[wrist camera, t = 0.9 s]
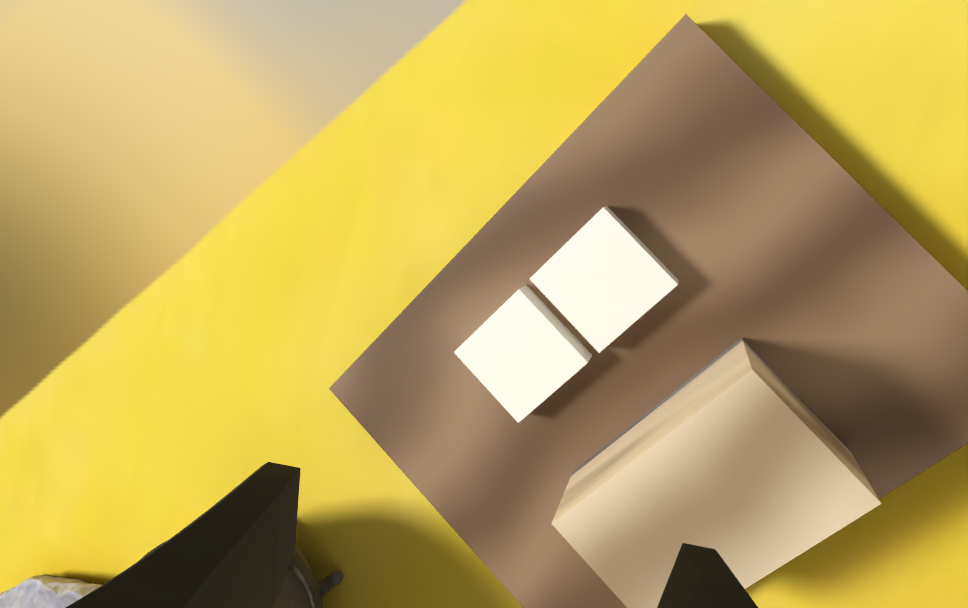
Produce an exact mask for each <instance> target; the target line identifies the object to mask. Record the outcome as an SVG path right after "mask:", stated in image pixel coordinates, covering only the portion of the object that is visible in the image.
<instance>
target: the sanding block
mask: <svg viewBox="0 0 968 608" xmlns="http://www.w3.org/2000/svg"><path fill="white" fill-rule="evenodd" d="M880 504H881V502H880V500H879V499H878V497H877V495H876V494H875V492H874V490H873V489H872V487H871V485H870V483H869V482H868V480H867V478H866V477H865V475H864V473H863V472H862V470H861V468H860V467H859V465H858V463H857V462H856V460H855V458H854V457H853V455H852V453H851V452H850V450H849V448H848V447H847V446H846V445H845V444H844V443H843V442H842V441H841V440H840V439H839V438H838V437H837V435H836V434H835V433H834V432H833V431H832V430H831V429H830V428H829V427H828V426H827V425H826V424H825V423H824V422H823V421H822V420H821V419H820V418H819V417H818V416H817V415H816V414H815V413H814V412H813V411H812V410H811V409H810V408H809V407H808V406H807V404H806V403H805V402H804V401H803V400H802V399H801V398H800V397H799V396H798V395H797V394H796V393H795V392H794V391H793V390H792V389H791V388H790V387H789V386H788V385H787V384H786V383H785V382H784V381H783V380H782V379H781V378H780V377H779V376H778V375H777V374H776V372H775V371H774V370H773V369H772V368H771V367H770V366H769V365H768V364H767V363H766V362H765V361H764V360H763V359H762V358H761V357H760V356H759V355H758V354H757V353H756V352H755V351H754V350H753V349H752V348H751V347H750V346H749V345H748V344H747V343H746V341H745V340H744V339H743V338H740V339H739V340H738V341H737V342H735V343H734V344H733V345H731V346H730V347H729V348H728V349H726V350H725V351H724V352H723V353H721V354H720V355H719V356H718V357H716V358H715V359H714V360H713V361H711V362H710V363H709V364H708V365H706V366H705V367H704V368H703V369H701V370H700V371H699V372H697V373H696V374H695V375H694V376H692V377H691V378H690V379H689V380H687V381H686V382H685V383H684V384H682V385H681V386H680V387H679V388H677V389H676V390H675V391H674V392H672V393H671V394H670V395H669V396H667V397H666V398H665V399H663V400H662V401H661V402H660V403H658V404H657V405H656V406H655V407H653V408H652V409H651V410H650V411H648V412H647V413H646V414H645V415H643V416H642V417H641V418H640V419H638V420H637V421H636V422H635V423H633V424H632V425H631V426H630V427H628V428H627V429H626V430H624V431H623V432H622V433H621V434H619V435H618V436H617V437H616V438H614V439H613V440H612V441H611V442H609V443H608V444H607V445H606V446H604V447H603V448H602V449H601V450H599V451H598V452H597V453H596V454H594V455H593V456H592V457H590V458H589V459H588V460H587V461H585V462H584V463H583V464H582V465H580V466H579V467H578V468H577V469H575V470H574V471H573V472H572V475H571V477H570V480H569V482H568V484H567V487H566V489H565V492H564V494H563V497H562V499H561V501H560V504H559V506H558V509H557V511H556V514H555V516H554V518H553V521H552V523H551V524H552V525H553V526H554V527H555V528H556V529H557V530H558V532H559V533H560V534H561V535H562V536H563V537H564V538H565V539H566V540H567V542H568V543H569V544H570V545H571V546H572V547H573V548H574V549H575V550H576V552H577V553H578V554H579V555H580V556H581V557H582V558H583V559H584V560H585V561H586V563H587V564H588V565H589V566H590V567H591V568H592V569H593V570H594V571H595V573H596V574H597V575H598V576H599V577H600V578H601V579H602V580H603V581H604V582H605V584H606V585H607V586H608V587H609V588H610V589H611V590H612V591H613V592H614V594H615V595H616V596H617V597H618V598H619V599H620V600H621V601H622V602H623V604H624V605H625V606H626V607H627V608H657V606H658V604H659V601H660V599H661V596H662V594H663V591H664V589H665V586H666V584H667V581H668V579H669V576H670V573H671V571H672V568H673V566H674V563H675V561H676V558H677V556H678V553H679V551H680V548H681V546H682V543H686V544H691V545H696V546H702V547H707V548H712V549H715V550H716V551H717V552H718V553H719V555H720V556H721V557H722V559H723V560H724V561H725V563H726V564H727V566H728V567H729V568H730V570H731V571H732V572H733V574H734V575H735V577H736V578H737V579H738V581H739V582H740V584H741V585H742V586H743V588H744V589H746V588H747V587H749V586H751V585H752V584H754V583H755V582H757V581H759V580H760V579H762V578H763V577H765V576H767V575H768V574H770V573H771V572H773V571H775V570H776V569H778V568H779V567H781V566H783V565H784V564H786V563H787V562H789V561H791V560H792V559H794V558H795V557H797V556H799V555H800V554H802V553H803V552H805V551H807V550H808V549H810V548H811V547H813V546H815V545H816V544H818V543H819V542H821V541H823V540H824V539H826V538H827V537H829V536H831V535H832V534H834V533H835V532H837V531H839V530H840V529H842V528H843V527H845V526H847V525H848V524H850V523H851V522H853V521H855V520H856V519H858V518H859V517H861V516H863V515H864V514H866V513H867V512H869V511H871V510H872V509H874V508H875V507H877V506H879V505H880Z"/></svg>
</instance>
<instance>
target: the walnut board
mask: <svg viewBox="0 0 968 608" xmlns="http://www.w3.org/2000/svg"><path fill="white" fill-rule="evenodd" d="M605 206H608V208H609V209H610V210H611V211H612V212H613V213H614V214H615V215H616V216H617V217H618V218H619V219H620V220H621V221H622V222H623V223H624V224H625V225H626V226H627V227H628V228H629V229H630V230H631V231H632V232H633V233H634V234H635V235H636V236H637V237H638V239H639V240H640V241H641V242H642V243H643V244H644V245H645V246H646V247H647V248H648V249H649V250H650V251H651V252H652V253H653V254H654V255H655V256H656V257H657V258H658V259H659V260H660V261H661V262H662V263H663V264H664V265H665V266H666V267H667V269H668V270H669V271H670V272H671V273H672V274H673V275H674V276H675V277H676V278H677V279H678V280H679V282H678V285H677V286H676V287H675V288H674V289H673V290H671V291H670V292H669V293H668V294H667V295H666V296H664V297H663V298H662V299H661V300H660V301H659V302H658V303H656V304H655V305H654V306H653V307H652V308H651V309H649V310H648V311H647V312H646V313H645V314H644V315H642V316H641V317H640V318H639V319H638V320H637V321H636V322H634V323H633V324H632V325H631V326H630V327H629V328H627V329H626V330H625V331H624V332H623V333H622V334H621V335H619V336H618V337H617V338H616V339H615V340H614V341H612V342H611V343H610V344H609V345H608V346H607V347H606V348H604V349H603V350H602V351H601V352H600V353H598V351H597V350H596V349H595V348H594V347H593V346H592V345H591V344H590V343H589V342H588V341H587V340H586V339H585V338H584V337H583V335H582V334H581V333H580V332H579V331H578V330H577V329H576V328H575V327H574V326H573V325H572V324H571V323H570V322H569V321H568V320H567V318H566V317H565V316H564V315H563V314H562V313H561V312H560V311H559V310H558V309H557V308H556V307H555V306H554V305H553V304H552V303H551V301H550V300H549V299H548V298H547V297H546V296H545V295H544V294H543V293H542V292H541V291H540V290H539V289H538V288H537V287H536V285H535V284H534V283H533V282H532V281H531V280H530V278H531V277H532V276H533V275H534V274H535V273H536V272H537V271H538V270H539V269H540V268H541V267H542V266H543V265H544V264H545V263H546V262H547V261H548V260H549V259H550V258H551V257H552V256H553V255H554V254H555V253H556V252H557V251H558V250H559V249H560V248H562V247H563V246H564V245H565V244H566V243H567V242H568V241H569V240H570V239H571V238H572V237H573V236H574V235H575V234H576V233H577V232H578V231H579V230H580V229H581V228H582V227H583V226H584V225H585V224H586V223H587V222H588V221H589V220H590V219H591V218H592V217H593V216H594V215H595V214H597V213H598V212H599V211H600V210H601V209H602V208H603V207H605ZM525 285H527V286H528V287H529V288H530V289H531V290H532V291H533V292H534V293H535V294H536V296H537V297H538V298H539V299H540V300H541V301H542V302H543V303H544V304H545V305H546V306H547V307H548V308H549V309H550V310H551V312H552V313H553V314H554V315H555V316H556V317H557V318H558V319H559V320H560V321H561V322H562V323H563V324H564V325H565V326H566V328H567V329H568V330H569V331H570V332H571V333H572V334H573V335H574V336H575V337H576V338H577V339H578V340H579V341H580V342H581V344H582V345H583V346H584V347H585V348H586V349H587V350H588V351H589V352H590V353H591V354H592V357H591V358H590V360H589V362H588V363H587V364H586V365H585V366H584V367H582V368H581V369H580V370H579V371H578V372H577V373H576V374H574V375H573V376H572V377H571V378H570V379H569V380H567V381H566V382H565V383H564V384H563V385H562V386H561V387H559V388H558V389H557V390H556V391H555V392H554V393H552V394H551V395H550V396H549V397H548V398H547V399H546V400H544V401H543V402H542V403H541V404H540V405H539V406H537V407H536V408H535V409H534V410H533V411H532V412H531V413H529V414H528V415H527V416H526V417H525V418H524V419H522V420H521V421H520V422H519V423H518V422H517V421H516V420H515V419H514V418H513V417H512V416H511V415H510V413H509V412H508V411H507V410H506V409H505V408H504V407H503V406H502V405H501V404H500V402H499V401H498V400H497V399H496V398H495V397H494V396H493V395H492V394H491V393H490V392H489V390H488V389H487V388H486V387H485V386H484V385H483V384H482V383H481V382H480V381H479V380H478V378H477V377H476V376H475V375H474V374H473V373H472V372H471V371H470V370H469V369H468V367H467V366H466V365H465V364H464V363H463V362H462V361H461V360H460V359H459V358H458V357H457V355H456V354H455V353H454V351H455V350H456V349H458V348H459V347H460V346H461V345H462V344H463V343H464V342H465V341H466V340H467V339H468V338H469V337H470V336H471V335H472V334H473V333H474V332H475V331H476V330H477V329H478V328H479V327H480V326H481V325H482V324H483V323H484V322H485V321H486V320H487V319H488V318H489V317H490V316H491V315H493V314H494V313H495V312H496V311H497V310H498V309H499V308H500V307H501V306H502V305H503V304H504V303H505V302H506V301H507V300H508V299H509V298H510V297H511V296H512V295H513V294H514V293H515V292H516V291H517V290H518V289H520V288H521V287H523V286H525ZM740 338H743V339H744V340H745V341H746V343H747V344H748V345H749V346H750V347H751V348H752V349H753V350H754V351H755V352H756V353H757V354H758V355H759V356H760V357H761V358H762V359H763V360H764V361H765V362H766V363H767V364H768V365H769V366H770V367H771V368H772V369H773V370H774V371H775V372H776V374H777V375H778V376H779V377H780V378H781V379H782V380H783V381H784V382H785V383H786V384H787V385H788V386H789V387H790V388H791V389H792V390H793V391H794V392H795V393H796V394H797V395H798V396H799V397H800V398H801V399H802V400H803V401H804V402H805V403H806V404H807V406H808V407H809V408H810V409H811V410H812V411H813V412H814V413H815V414H816V415H817V416H818V417H819V418H820V419H821V420H822V421H823V422H824V423H825V424H826V425H827V426H828V427H829V428H830V429H831V430H832V431H833V432H834V433H835V434H836V435H837V437H838V438H839V439H840V440H841V441H842V442H843V443H844V444H845V445H846V446H847V447H848V448H849V450H850V452H851V453H852V455H853V457H854V458H855V460H856V462H857V463H858V465H859V467H860V468H861V470H862V472H863V473H864V475H865V477H866V478H867V480H868V482H869V483H870V485H871V487H872V489H873V490H874V492H875V494H876V495H877V497H878V499H880V498H881V497H883V496H885V495H886V494H888V493H889V492H891V491H892V490H894V489H896V488H897V487H899V486H900V485H902V484H904V483H905V482H907V481H908V480H910V479H912V478H913V477H915V476H916V475H918V474H920V473H921V472H923V471H924V470H926V469H927V468H929V467H931V466H932V465H934V464H935V463H937V462H939V461H940V460H942V459H943V458H945V457H947V456H948V455H950V454H951V453H953V452H955V451H956V450H958V449H959V448H961V447H962V446H964V445H966V444H967V443H968V291H967V290H966V289H965V288H964V287H963V286H962V285H961V284H960V283H959V282H958V281H957V280H956V279H955V278H954V277H953V276H952V275H951V274H950V273H949V272H948V271H947V270H946V269H945V268H944V267H943V266H942V265H941V264H940V263H939V262H938V261H937V260H936V259H935V258H934V257H933V256H932V255H931V254H930V253H929V252H928V251H926V250H925V249H924V248H923V247H922V246H921V245H920V244H919V243H918V242H917V241H916V240H915V239H914V238H913V237H912V236H911V235H910V234H909V233H908V232H907V231H906V230H905V229H904V228H903V227H902V226H901V225H900V224H899V223H898V222H897V221H896V220H895V219H894V218H893V217H892V216H891V215H890V214H889V213H888V212H887V211H886V210H885V209H884V208H883V207H882V206H881V205H880V204H879V203H878V202H877V201H876V200H875V199H874V198H873V197H872V196H871V195H870V194H868V193H867V192H866V191H865V190H864V189H863V188H862V187H861V186H860V185H859V184H858V183H857V182H856V181H855V180H854V179H853V178H852V177H851V176H850V175H849V174H848V173H847V172H846V171H845V170H844V169H843V168H842V167H841V166H840V165H839V164H838V163H837V162H836V161H835V160H834V159H833V158H832V157H831V156H830V155H829V154H828V153H827V152H826V151H825V150H824V149H823V148H822V147H821V146H820V145H819V144H818V143H817V142H816V141H815V140H814V139H813V138H812V137H811V136H809V135H808V134H807V133H806V132H805V131H804V130H803V129H802V128H801V127H800V126H799V125H798V124H797V123H796V122H795V121H794V120H793V119H792V118H791V117H790V116H789V115H788V114H787V113H786V112H785V111H784V110H783V109H782V108H781V107H780V106H779V105H778V104H777V103H776V102H775V101H774V100H773V99H772V98H771V97H770V96H769V95H768V94H767V93H766V92H765V91H764V90H763V89H762V88H761V87H760V86H759V85H758V84H757V83H756V82H755V81H754V80H753V79H752V78H750V77H749V76H748V75H747V74H746V73H745V72H744V71H743V70H742V69H741V68H740V67H739V66H738V65H737V64H736V63H735V62H734V61H733V60H732V59H731V58H730V57H729V56H728V55H727V54H726V53H725V52H724V51H723V50H722V49H721V48H720V47H719V46H718V45H717V44H716V43H715V42H714V41H713V40H712V39H711V38H710V37H709V36H708V35H707V34H706V33H705V32H704V31H703V30H702V29H701V28H700V27H699V26H698V25H697V24H696V23H695V22H694V21H692V20H691V19H690V18H689V17H688V16H687V15H685V16H684V17H683V18H682V19H681V20H680V21H679V22H678V23H677V24H676V25H675V26H674V27H673V28H672V29H671V30H670V31H669V32H668V33H667V35H666V36H665V37H664V38H663V39H662V40H661V41H660V42H659V43H658V44H657V45H656V46H655V47H654V48H653V49H652V50H651V51H650V52H649V53H648V54H647V55H646V57H645V58H644V59H643V60H642V61H641V62H640V63H639V64H638V65H637V66H636V67H635V68H634V69H633V70H632V71H631V72H630V73H629V74H628V75H627V76H626V78H625V79H624V80H623V81H622V82H621V83H620V84H619V85H618V86H617V87H616V88H615V89H614V90H613V91H612V92H611V93H610V94H609V95H608V96H607V97H606V98H605V100H604V101H603V102H602V103H601V104H600V105H599V106H598V107H597V108H596V109H595V110H594V111H593V112H592V113H591V114H590V115H589V116H588V117H587V118H586V119H585V121H584V122H583V123H582V124H581V125H580V126H579V127H578V128H577V129H576V130H575V131H574V132H573V133H572V134H571V135H570V136H569V137H568V138H567V139H566V140H565V142H564V143H563V144H562V145H561V146H560V147H559V148H558V149H557V150H556V151H555V152H554V153H553V154H552V155H551V156H550V157H549V158H548V159H547V160H546V161H545V162H544V164H543V165H542V166H541V167H540V168H539V169H538V170H537V171H536V172H535V173H534V174H533V175H532V176H531V177H530V178H529V179H528V180H527V181H526V182H525V183H524V185H523V186H522V187H521V188H520V189H519V190H518V191H517V192H516V193H515V194H514V195H513V196H512V197H511V198H510V199H509V200H508V201H507V202H506V203H505V204H504V206H503V207H502V208H501V209H500V210H499V211H498V212H497V213H496V214H495V215H494V216H493V217H492V218H491V219H490V220H489V221H488V222H487V223H486V224H485V225H484V226H483V228H482V229H481V230H480V231H479V232H478V233H477V234H476V235H475V236H474V237H473V238H472V239H471V240H470V241H469V242H468V243H467V244H466V245H465V246H464V247H463V249H462V250H461V251H460V252H459V253H458V254H457V255H456V256H455V257H454V258H453V259H452V260H451V261H450V262H449V263H448V264H447V265H446V266H445V267H444V268H443V270H442V271H441V272H440V273H439V274H438V275H437V276H436V277H435V278H434V279H433V280H432V281H431V282H430V283H429V284H428V285H427V286H426V287H425V288H424V289H423V290H422V292H421V293H420V294H419V295H418V296H417V297H416V298H415V299H414V300H413V301H412V302H411V303H410V304H409V305H408V306H407V307H406V308H405V309H404V310H403V311H402V313H401V314H400V315H399V316H398V317H397V318H396V319H395V320H394V321H393V322H392V323H391V324H390V325H389V326H388V327H387V328H386V329H385V330H384V331H383V332H382V334H381V335H380V336H379V337H378V338H377V339H376V340H375V341H374V342H373V343H372V344H371V345H370V346H369V347H368V348H367V349H366V350H365V351H364V352H363V353H362V354H361V356H360V357H359V358H358V359H357V360H356V361H355V362H354V363H353V364H352V365H351V366H350V367H349V368H348V369H347V370H346V371H345V372H344V373H343V374H342V375H341V377H340V378H339V379H338V380H337V381H336V382H335V383H334V384H333V385H332V386H331V387H330V388H329V389H330V390H331V391H332V392H333V394H334V395H335V396H336V397H337V398H338V399H339V400H340V401H341V403H342V404H343V405H344V406H345V407H346V408H347V409H348V410H349V412H350V413H351V414H352V415H353V416H354V417H355V418H356V420H357V421H358V422H359V423H360V424H361V425H362V426H363V427H364V429H365V430H366V431H367V432H368V433H369V434H370V435H371V436H372V438H373V439H374V440H375V441H376V442H377V443H378V444H379V445H380V447H381V448H382V449H383V450H384V451H385V452H386V453H387V455H388V456H389V457H390V458H391V459H392V460H393V461H394V462H395V464H396V465H397V466H398V467H399V468H400V469H401V470H402V471H403V473H404V474H405V475H406V476H407V477H408V478H409V479H410V480H411V482H412V483H413V484H414V485H415V486H416V487H417V488H418V490H419V491H420V492H421V493H422V494H423V495H424V496H425V497H426V499H427V500H428V501H429V502H430V503H431V504H432V505H433V506H434V508H435V509H436V510H437V511H438V512H439V513H440V514H441V515H442V517H443V518H444V519H445V520H446V521H447V522H448V523H449V525H450V526H451V527H452V528H453V529H454V530H455V531H456V532H457V534H458V535H459V536H460V537H461V538H462V539H463V540H464V541H465V543H466V544H467V545H468V546H469V547H470V548H471V549H472V550H473V552H474V553H475V554H476V555H477V556H478V557H479V558H480V559H481V561H482V562H483V563H484V564H485V565H486V566H487V567H488V569H489V570H490V571H491V572H492V573H493V574H494V575H495V576H496V578H497V579H498V580H499V581H500V582H501V583H502V584H503V585H504V587H505V588H506V589H507V590H508V591H509V592H510V593H511V594H512V596H513V597H514V598H515V599H516V600H517V601H518V602H519V604H520V605H521V606H522V607H523V608H627V607H626V606H625V605H624V604H623V602H622V601H621V600H620V599H619V598H618V597H617V596H616V595H615V594H614V592H613V591H612V590H611V589H610V588H609V587H608V586H607V585H606V584H605V582H604V581H603V580H602V579H601V578H600V577H599V576H598V575H597V574H596V573H595V571H594V570H593V569H592V568H591V567H590V566H589V565H588V564H587V563H586V561H585V560H584V559H583V558H582V557H581V556H580V555H579V554H578V553H577V552H576V550H575V549H574V548H573V547H572V546H571V545H570V544H569V543H568V542H567V540H566V539H565V538H564V537H563V536H562V535H561V534H560V533H559V532H558V530H557V529H556V528H555V527H554V526H553V525H552V524H551V523H552V521H553V518H554V516H555V514H556V511H557V509H558V506H559V504H560V501H561V499H562V497H563V494H564V492H565V489H566V487H567V484H568V482H569V480H570V477H571V475H572V472H573V471H574V470H575V469H577V468H578V467H579V466H580V465H582V464H583V463H584V462H585V461H587V460H588V459H589V458H590V457H592V456H593V455H594V454H596V453H597V452H598V451H599V450H601V449H602V448H603V447H604V446H606V445H607V444H608V443H609V442H611V441H612V440H613V439H614V438H616V437H617V436H618V435H619V434H621V433H622V432H623V431H624V430H626V429H627V428H628V427H630V426H631V425H632V424H633V423H635V422H636V421H637V420H638V419H640V418H641V417H642V416H643V415H645V414H646V413H647V412H648V411H650V410H651V409H652V408H653V407H655V406H656V405H657V404H658V403H660V402H661V401H662V400H663V399H665V398H666V397H667V396H669V395H670V394H671V393H672V392H674V391H675V390H676V389H677V388H679V387H680V386H681V385H682V384H684V383H685V382H686V381H687V380H689V379H690V378H691V377H692V376H694V375H695V374H696V373H697V372H699V371H700V370H701V369H703V368H704V367H705V366H706V365H708V364H709V363H710V362H711V361H713V360H714V359H715V358H716V357H718V356H719V355H720V354H721V353H723V352H724V351H725V350H726V349H728V348H729V347H730V346H731V345H733V344H734V343H735V342H737V341H738V340H739V339H740Z"/></svg>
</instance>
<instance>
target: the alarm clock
mask: <svg viewBox="0 0 968 608" xmlns="http://www.w3.org/2000/svg"><path fill="white" fill-rule="evenodd" d="M166 542H167V541H166ZM164 543H165V542H164ZM164 543H162V544H164ZM162 544H160V545H159V546H157V547H156V548H154V549H153V550H151V551H150V552H148V553H147V554H146V555H145V556H147V555H148V554H149V553H151V552H152V551H154V550H155V549H157V548H158V547H160V546H161V545H162ZM145 556H144V557H145ZM144 557H143V558H144ZM140 560H141V559H140ZM342 579H343V574H342V572H341V571H335V572H334V573H332V574H331V575H329V576H327V577H326V578H324V579H323V580H321V581H319V580H317V579H316V578H315V576H314V574H313V572H312V570H311V568H310V566H309V564H308V562H307V560H306V559H305V557H304V556H303V554H302V553H301V551H300V550H299V549H298V548H297V547H296V546H295V551H294V554H293V557H292V559H291V562H290V564H289V567H288V570H287V572H286V575H285V578H284V580H283V583H282V585H281V588H280V590H279V593H278V595H277V598H276V600H275V603H274V605H273V607H272V608H323V605H322V596H323V595H325V594H326V593H327V592H328V591H330V590H331V589H332V588H334V587H335V586H336V585H338V584H339V583H340V582H341V581H342Z"/></svg>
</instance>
